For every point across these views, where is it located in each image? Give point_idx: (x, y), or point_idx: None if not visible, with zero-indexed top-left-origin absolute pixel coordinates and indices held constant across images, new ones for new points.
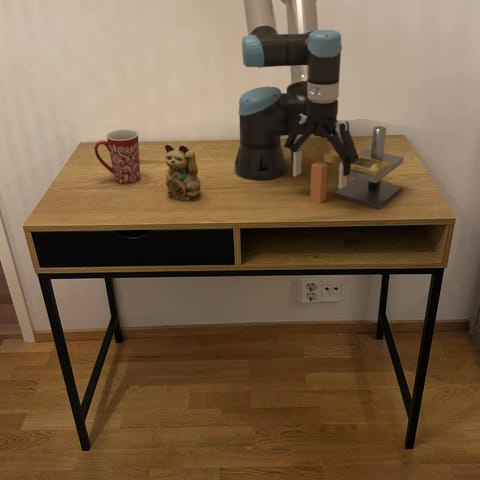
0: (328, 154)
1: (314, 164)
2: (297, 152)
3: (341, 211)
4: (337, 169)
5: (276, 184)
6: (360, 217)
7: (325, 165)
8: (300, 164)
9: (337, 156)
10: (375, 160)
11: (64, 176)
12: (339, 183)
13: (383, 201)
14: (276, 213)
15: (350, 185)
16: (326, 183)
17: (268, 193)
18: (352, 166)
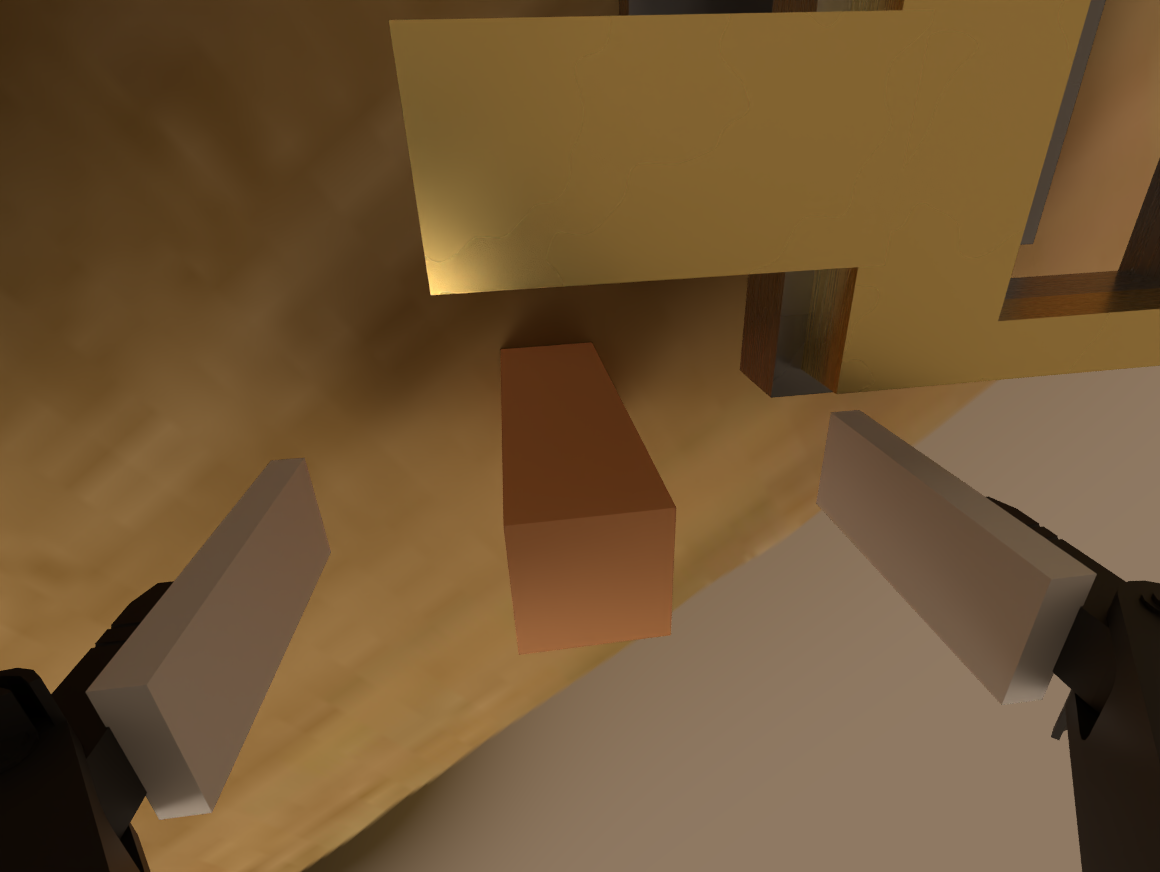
0: (528, 283)
1: (538, 622)
2: (195, 774)
3: (776, 426)
4: (761, 385)
5: (73, 381)
6: (911, 416)
7: (673, 556)
8: (266, 536)
9: (731, 272)
10: None
11: None
12: (848, 528)
13: (1056, 153)
14: (464, 670)
15: (683, 9)
16: (617, 397)
17: (192, 535)
18: (1025, 371)
